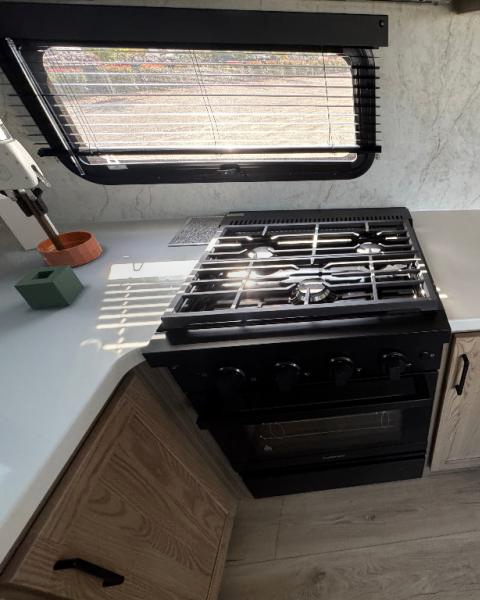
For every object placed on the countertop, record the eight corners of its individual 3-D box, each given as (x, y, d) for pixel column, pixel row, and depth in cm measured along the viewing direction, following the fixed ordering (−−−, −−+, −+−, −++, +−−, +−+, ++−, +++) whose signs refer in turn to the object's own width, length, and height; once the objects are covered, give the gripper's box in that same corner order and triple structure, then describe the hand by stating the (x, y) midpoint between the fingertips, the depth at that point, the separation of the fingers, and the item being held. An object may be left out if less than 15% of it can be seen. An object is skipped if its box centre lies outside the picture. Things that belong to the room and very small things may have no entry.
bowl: (39, 272, 90) (25, 254, 86) (63, 250, 99) (51, 232, 95) (92, 267, 92) (81, 249, 89) (110, 246, 101) (100, 229, 98)
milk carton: (58, 244, 101) (15, 180, 89) (26, 251, 98) (-23, 185, 86) (60, 235, 106) (19, 172, 94) (29, 241, 102) (-17, 177, 91)
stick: (59, 255, 92) (16, 194, 82) (62, 252, 94) (21, 191, 83) (66, 255, 93) (25, 193, 82) (70, 251, 94) (30, 190, 84)
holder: (34, 311, 78) (13, 286, 73) (51, 292, 83) (32, 268, 79) (71, 307, 79) (52, 282, 75) (85, 288, 85) (69, 264, 80)
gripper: (-74, 140, 71) (-10, 223, 82) (18, 137, 74) (67, 218, 85) (-47, 132, 76) (9, 210, 88) (37, 129, 79) (81, 206, 91)
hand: (37, 213), depth 86 cm, fingers closed on stick, 1 cm apart
